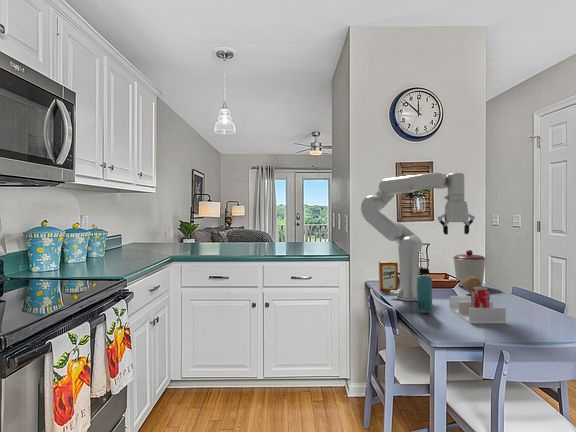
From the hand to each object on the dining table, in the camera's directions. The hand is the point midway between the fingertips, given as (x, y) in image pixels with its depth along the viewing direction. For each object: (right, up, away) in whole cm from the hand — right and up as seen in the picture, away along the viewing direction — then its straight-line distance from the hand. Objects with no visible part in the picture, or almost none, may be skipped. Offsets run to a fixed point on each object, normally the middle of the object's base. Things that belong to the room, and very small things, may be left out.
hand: (456, 234), depth 199 cm
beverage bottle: (-21, -34, -18) cm, 44 cm away
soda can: (-1, -33, -28) cm, 43 cm away
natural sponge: (+16, -33, +19) cm, 41 cm away
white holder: (-1, -34, -23) cm, 41 cm away
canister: (+24, -32, +41) cm, 58 cm away
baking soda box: (-24, -33, +35) cm, 54 cm away
